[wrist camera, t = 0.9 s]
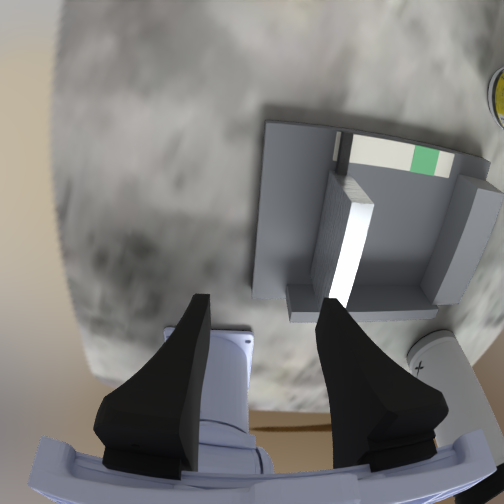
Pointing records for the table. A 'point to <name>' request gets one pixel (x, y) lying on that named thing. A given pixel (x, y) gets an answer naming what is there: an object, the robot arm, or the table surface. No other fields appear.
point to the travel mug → (459, 405)
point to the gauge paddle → (340, 230)
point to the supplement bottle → (497, 97)
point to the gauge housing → (372, 221)
